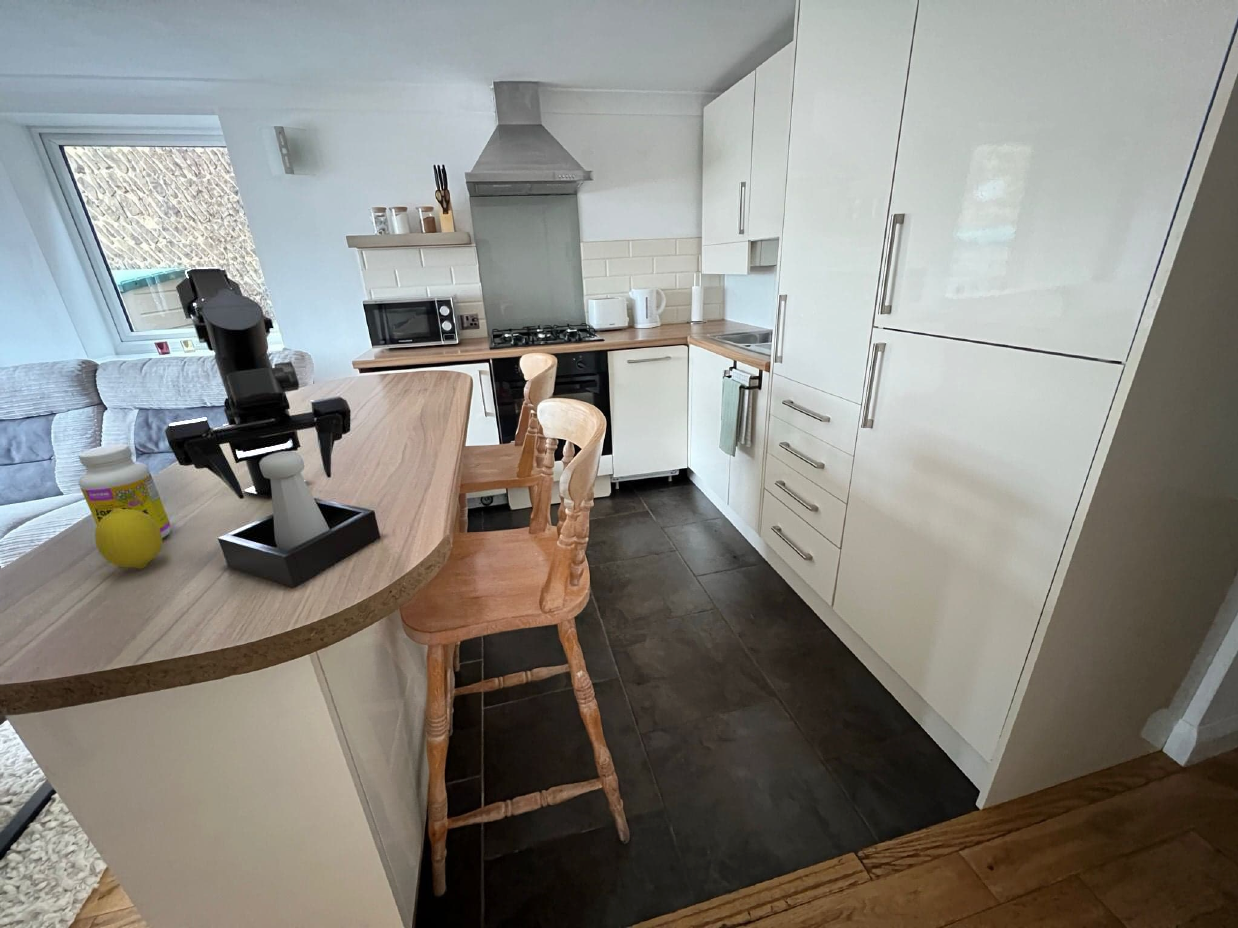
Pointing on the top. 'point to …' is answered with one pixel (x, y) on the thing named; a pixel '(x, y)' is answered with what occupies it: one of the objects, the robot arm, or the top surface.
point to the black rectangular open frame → (297, 565)
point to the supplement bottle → (120, 485)
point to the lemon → (128, 538)
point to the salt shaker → (291, 501)
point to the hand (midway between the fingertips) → (287, 486)
